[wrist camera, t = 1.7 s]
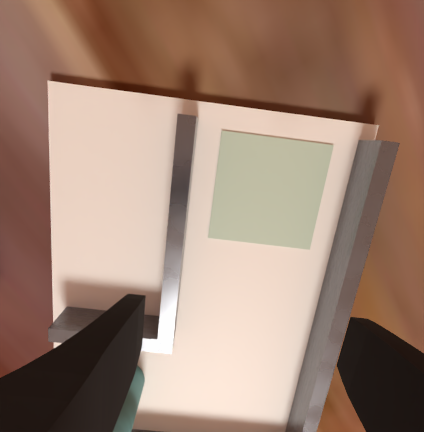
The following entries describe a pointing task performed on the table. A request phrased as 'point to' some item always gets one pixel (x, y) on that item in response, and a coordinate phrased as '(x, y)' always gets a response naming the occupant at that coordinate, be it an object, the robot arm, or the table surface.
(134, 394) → the peg
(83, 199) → the maze board
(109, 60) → the table surface
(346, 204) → the guide walls
